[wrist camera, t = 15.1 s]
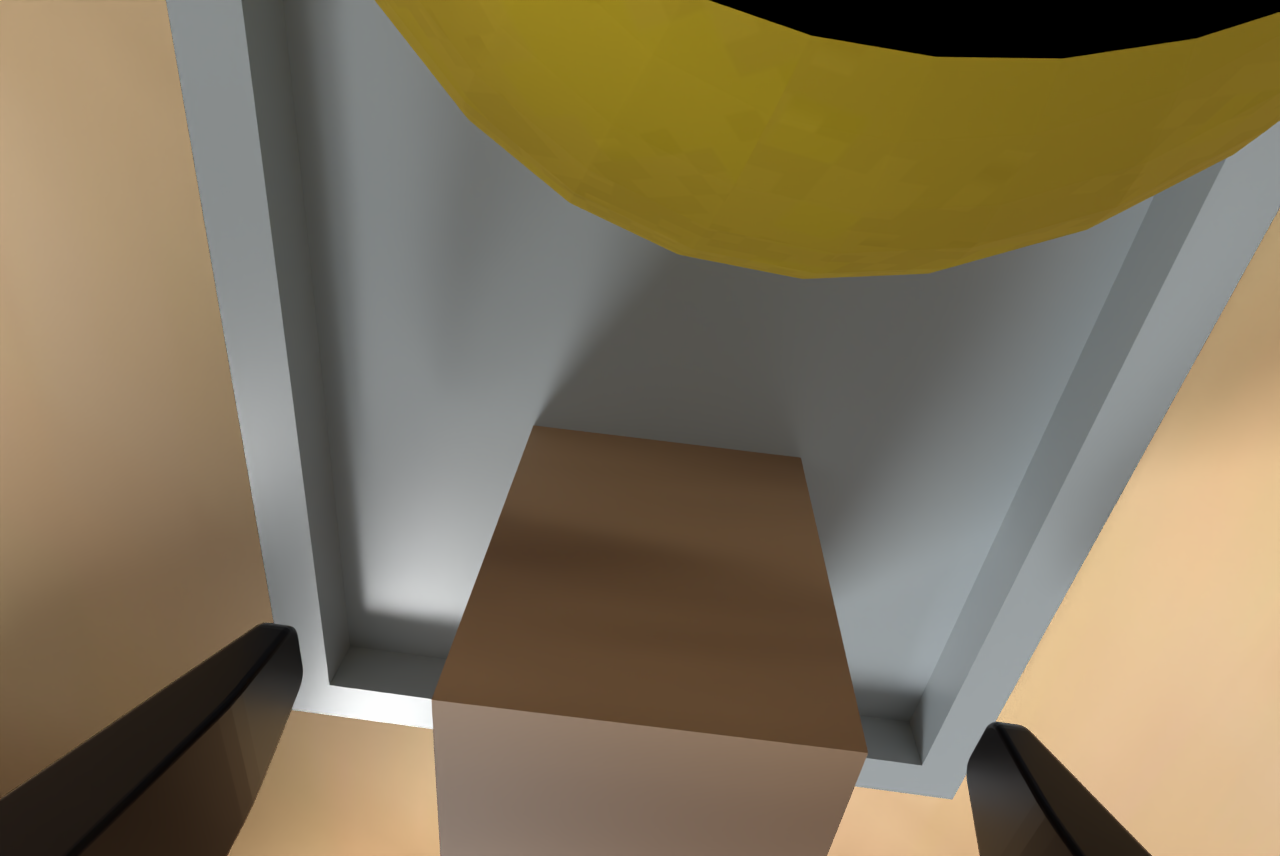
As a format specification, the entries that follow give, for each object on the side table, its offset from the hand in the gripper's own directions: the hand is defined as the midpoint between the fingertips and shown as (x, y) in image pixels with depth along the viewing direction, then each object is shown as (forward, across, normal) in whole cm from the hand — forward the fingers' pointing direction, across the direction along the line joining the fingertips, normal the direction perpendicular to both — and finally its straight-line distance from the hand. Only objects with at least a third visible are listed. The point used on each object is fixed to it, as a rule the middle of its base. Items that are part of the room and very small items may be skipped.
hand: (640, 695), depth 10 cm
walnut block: (+3, 0, 0) cm, 3 cm away
